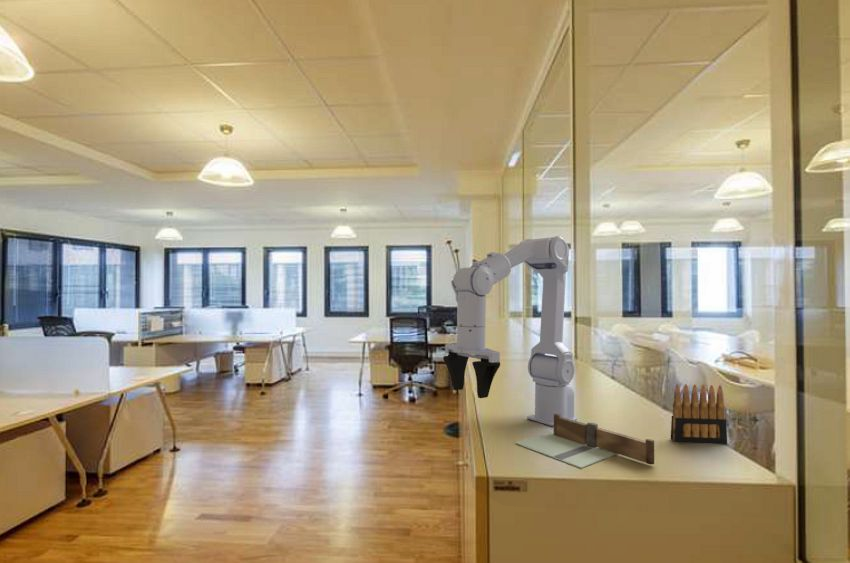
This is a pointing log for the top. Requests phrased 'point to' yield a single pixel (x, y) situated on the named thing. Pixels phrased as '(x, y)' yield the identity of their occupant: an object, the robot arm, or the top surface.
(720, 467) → the top surface
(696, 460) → the top surface
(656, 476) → the top surface
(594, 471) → the top surface
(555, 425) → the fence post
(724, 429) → the ammunition clip
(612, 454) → the card
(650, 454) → the fence gate
